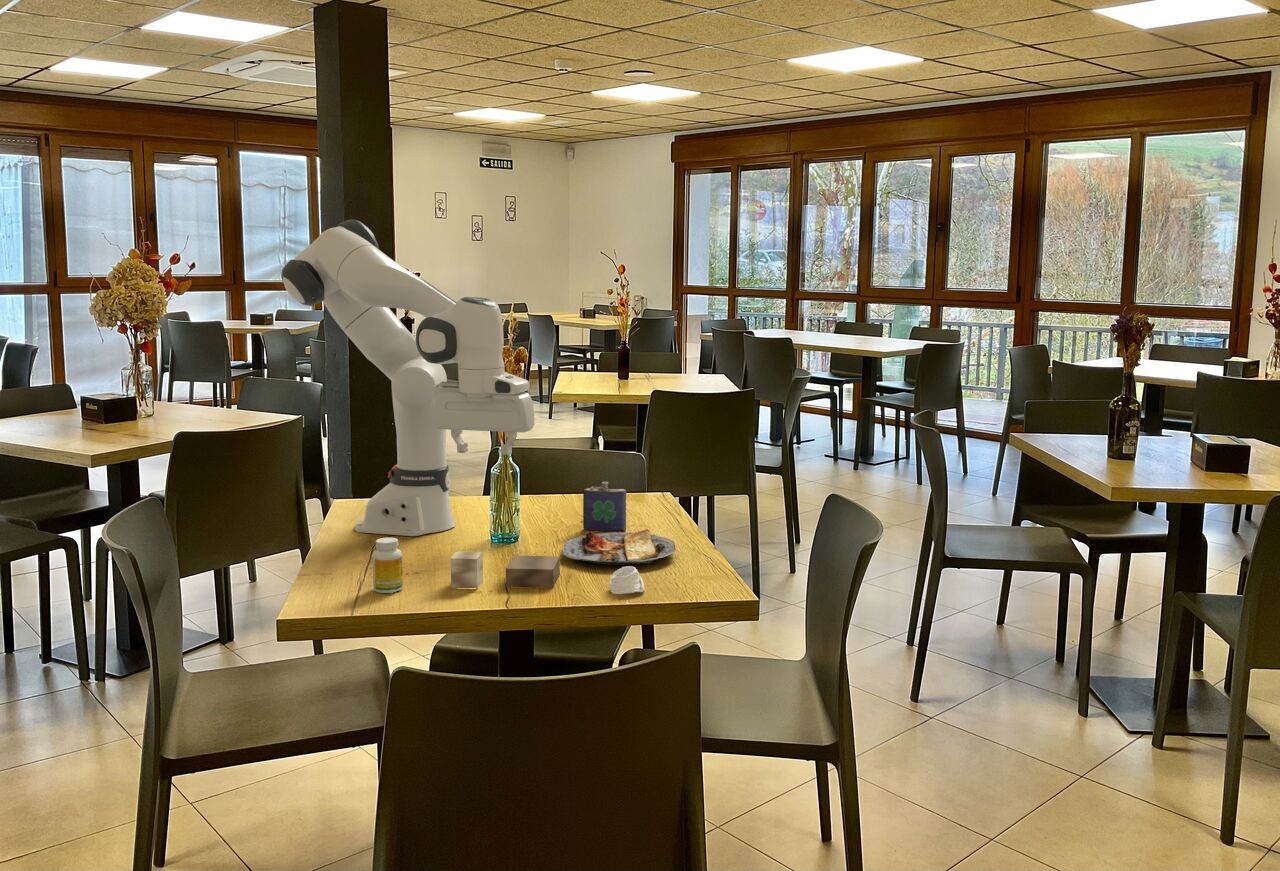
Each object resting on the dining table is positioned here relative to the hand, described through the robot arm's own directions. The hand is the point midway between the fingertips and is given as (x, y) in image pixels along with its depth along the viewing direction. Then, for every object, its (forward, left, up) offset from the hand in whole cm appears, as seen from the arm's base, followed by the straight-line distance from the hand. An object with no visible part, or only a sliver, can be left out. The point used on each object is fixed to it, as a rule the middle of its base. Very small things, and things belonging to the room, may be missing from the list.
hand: (484, 453), depth 206 cm
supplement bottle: (-16, -13, -24) cm, 32 cm away
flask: (+20, +35, -24) cm, 47 cm away
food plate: (+25, +15, -24) cm, 38 cm away
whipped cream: (+29, -9, -24) cm, 39 cm away
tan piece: (-2, -9, -24) cm, 26 cm away
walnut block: (+10, -5, -24) cm, 27 cm away
